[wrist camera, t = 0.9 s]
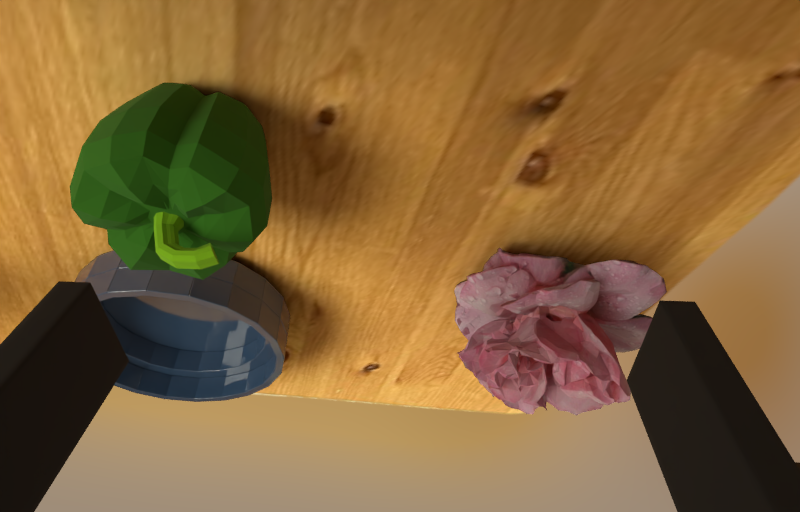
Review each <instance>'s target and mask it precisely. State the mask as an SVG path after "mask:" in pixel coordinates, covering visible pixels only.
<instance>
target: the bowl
mask: <svg viewBox="0 0 800 512" xmlns="http://www.w3.org/2000/svg"><path fill="white" fill-rule="evenodd" d="M75 282H90V283H91V285H92V287H93V289H94V291H95V293H96V295H97V297H98V299H99V301H100V303H101V305H102V307H103V309H104V311H105V313H106V315H107V317H108V319H109V321H110V323H111V325H112V327H113V329H114V331H115V333H116V335H117V337H118V339H119V341H120V344H121V346H122V348H123V350H124V352H125V354H126V356H127V358H128V360H129V362H128V364H127V365H126V367H125V369H124V370H123V372H122V373H121V375H120V376H119V378H118V380H117V381H116V383H115V384H114V385H115V386H117V387H120V388H123V389H126V390H129V391H131V392H135V393H139V394H143V395H148V396H153V397H158V398H163V399H171V400H182V401H194V402H200V401H221V400H229V399H234V398H239V397H243V396H248V395H251V394H253V393H255V392H257V391H259V390H262V389H264V388H266V387H268V386H270V385H271V384H272V382H273V381H274V380H275V379H276V378H277V377H278V376H279V375H280V374H281V373H282V368H283V363H284V358H285V351H286V344H287V336H288V329H289V322H290V314H289V311H288V308H287V306H286V303H285V300H284V298H283V296H282V295H281V294H280V293H279V292H278V291H277V290H276V289H275V288H274V287H273V286H272V285H271V284H270V283H269V281H268V280H267V279H265V278H264V277H262V276H261V275H259V274H257V273H256V272H254V271H252V270H251V269H249V268H247V267H246V266H244V265H242V264H241V263H239V262H236V261H234V260H230V261H229V262H228V263H227V264H226V265H225V266H223V267H222V268H220V269H219V270H217V271H216V272H214V273H213V274H211V275H210V276H208V277H207V278H205V279H204V280H202V279H198V278H195V277H191V276H188V275H184V274H181V273H177V272H174V271H170V270H130V269H129V268H128V266H127V265H126V264H125V263H124V262H123V260H122V259H121V258H120V257H119V256H118V254H117V253H116V252H115V251H110V252H107V253H104V254H101V255H99V256H97V257H96V258H95V259H94V260H92V261H91V262H90V263H89V264H88V265H87V266H85V267H84V268H83V269H82V270H81V271H80V272H79V274H78V276H77V278H76V280H75Z"/></svg>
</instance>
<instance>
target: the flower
mask: <svg viewBox="0 0 800 512" xmlns="http://www.w3.org/2000/svg"><path fill="white" fill-rule="evenodd" d="M467 278H468V279H467V281H465V282H460V283H459V284H458V285H457V286H456V288H455V290H454V291H455V295H456V299H457V307H456V311H455V321H456V323H457V325H458V327H459V329H460V331H461V332H462V333H463V335H464V336H465V337H466V338H467V339H468V340H469V341H468V343H467V346H466V348H465V349H464V350H462V351H460V352H458V354H459V357H460V358H461V360H462V361H463V363H464V365H465V367H466V368H467V369H469V370H470V371H472V372H473V373H474V375H475V377H476V378H478V380H479V382H480V384H482V385H483V386H484V387H485V388H486V389H487V390H488V391H489V392H490V393H491V394H492V396H493V397H494V396H496V397H497V398H498V399H500V400H502V401H503V402H504V404H505V405H506V406H509V407H511V408H514V409H519V410H521V411H523V412H525V413H526V414H533V413H534V411H535V409H536V408H538V407H539V406H542V407H544V408H545V409H546V402H548V403H550V404H551V405H553V406H554V407H555V408H556V409H558V410H561V411H568V412H570V413H573V414H575V415H578V414H580V413H582V412H586V411H591V410H596V409H601V408H602V406H603V405H604V404H605V405H610V404H612V403H614V402H618V403H620V402H626V401H629V400H630V394H631V390H630V388H629V385H628V383H627V381H626V378H625V376H624V374H623V372H622V369H621V366H620V364H619V362H618V358H617V355H616V352H627V351H632V350H636V349H640V347H641V345H642V343H643V340H644V338H645V335H646V333H647V331H648V328H649V326H650V323H651V321H652V319H653V318H652V317H649V316H646V315H642V314H639V313H641V312H642V311H644V310H646V309H647V308H649V307H650V306H652V305H653V304H654V303H656V302H657V301H658V300H659V299H660V298H661V297H662V296H663V295H664V294H665V293H666V292H667V291H666V286H665V282H664V279H663V278H662V277H661V276H660V275H659V274H658V273H657V272H655V271H653V270H652V269H650V268H649V267H647V266H646V265H642V264H639V263H636V262H634V261H628V260H609V261H604V262H597V263H593V264H589V265H581V264H577V263H574V262H570V261H569V260H568V259H567V258H562V257H552V256H542V255H535V254H525V253H520V254H518V255H517V254H512V253H508V252H505V251H504V250H502V249H501V248H499V249H498V252H497V253H496V254H494V255H493V256H491V257H490V259H489V260H488V261H487V262H486V264H485V265H484V268H483V272H478V273H473V274H471V275H469V276H467ZM638 314H639V315H638ZM546 410H547V409H546Z"/></svg>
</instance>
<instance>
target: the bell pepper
mask: <svg viewBox="0 0 800 512" xmlns="http://www.w3.org/2000/svg"><path fill="white" fill-rule="evenodd" d="M70 193H71V204H72V208H73V210H74V211H75V212H76V213H77V215H78V216H79V217H80V219H81V220H82V221H83V223H84V224H88V225H92V226H96V227H100V228H104V229H107V232H108V243H109V245H110V246H111V247H112V249H113V250H114V251H115V252H116V253H117V254H118V256H119V257H120V258H121V259H122V260H123V262H124V263H125V264H126V265H127V266H128V268H129V269H130V270H170V271H174V272H177V273H181V274H184V275H188V276H191V277H195V278H198V279H202V280H204V279H205V278H207V277H208V276H210V275H211V274H213V273H214V272H216V271H217V270H219V269H220V268H222V267H223V266H225V265H226V264H227V263H228V262H229V261H230V260H231V259H232V258H233V257H234V256H235V254H236V253H237V252H243V251H244V250H245V249H246V248H247V247H248V246H249V245H250V244H251V243H252V242H253V241H254V240H255V239H256V238H257V237H258V236H259V234H260V233H261V232H262V231H263V230H264V229H265V228H266V227H267V224H268V218H269V213H270V207H271V202H272V192H271V182H270V172H269V163H268V155H267V147H266V140H265V136H264V132H263V128H262V126H261V124H260V123H259V122H258V120H257V119H256V118H255V116H254V115H253V114H252V112H251V111H250V110H249V109H248V107H247V106H246V105H245V104H244V103H242V102H240V101H238V100H236V99H233V98H231V97H229V96H227V95H225V94H223V93H220V92H216V93H213V94H210V95H207V96H205V95H203V94H202V93H201V92H199V91H198V90H197V89H195V88H194V87H193V86H191V85H187V84H179V83H162V84H160V85H158V86H156V87H154V88H152V89H151V90H149V91H147V92H145V93H143V94H141V95H139V96H137V97H136V98H134V99H132V100H130V101H128V102H127V103H125V104H123V105H122V106H120V107H119V108H117V109H116V110H115V111H113V112H112V113H110V114H109V115H108V116H106V117H105V118H103V119H102V120H101V121H100V122H99V123H98V125H97V126H96V127H95V129H94V130H93V132H92V133H91V135H90V136H89V137H88V139H87V140H86V142H85V143H84V145H83V146H82V149H81V153H80V156H79V159H78V162H77V165H76V169H75V172H74V175H73V178H72V181H71V185H70Z"/></svg>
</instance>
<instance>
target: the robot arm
mask: <svg viewBox="0 0 800 512" xmlns="http://www.w3.org/2000/svg"><path fill="white" fill-rule="evenodd" d="M128 362H129V360H128V358H127V356H126V354H125V352H124V350H123V348H122V346H121V344H120V341H119V339H118V337H117V335H116V333H115V331H114V329H113V327H112V325H111V323H110V321H109V319H108V317H107V315H106V313H105V311H104V309H103V307H102V305H101V303H100V301H99V299H98V297H97V295H96V293H95V291H94V289H93V287H92V285H91V283H90V282H58V283H57V284H56V285H55V286H54V287H53V288H52V290H51V291H50V292H49V293H48V294H47V295H46V296H45V297H44V298H43V299H42V300H41V301H40V302H39V303H38V305H37V306H36V307H35V308H34V309H33V310H32V311H31V312H30V313H29V314H28V315H27V316H26V317H25V319H24V320H23V321H22V322H21V323H20V324H19V325H18V326H17V327H16V328H15V329H14V330H13V331H12V332H11V334H10V335H9V336H8V337H7V338H6V339H5V340H4V341H3V342H2V343H1V344H0V512H34V511H35V509H36V508H37V506H38V505H39V503H40V502H41V500H42V498H43V497H44V495H45V494H46V492H47V490H48V489H49V487H50V486H51V484H52V483H53V481H54V479H55V478H56V476H57V475H58V473H59V472H60V470H61V468H62V467H63V465H64V464H65V462H66V460H67V459H68V457H69V456H70V454H71V452H72V451H73V449H74V448H75V446H76V445H77V443H78V441H79V440H80V438H81V437H82V435H83V434H84V432H85V430H86V429H87V427H88V425H89V424H90V422H91V421H92V419H93V418H94V416H95V415H96V413H97V411H98V410H99V408H100V406H101V405H102V403H103V402H104V400H105V399H106V397H107V395H108V394H109V392H110V391H111V389H112V387H113V386H114V384H115V383H116V381H117V380H118V378H119V376H120V375H121V373H122V372H123V370H124V369H125V367H126V365H127V364H128ZM627 383H628V385H629V388H630V390H631V393H632V396H633V398H634V401H635V403H636V406H637V408H638V411H639V413H640V416H641V419H642V421H643V424H644V426H645V429H646V432H647V434H648V437H649V439H650V442H651V445H652V447H653V450H654V452H655V455H656V457H657V460H658V463H659V465H660V468H661V470H662V473H663V475H664V478H665V481H666V483H667V486H668V488H669V491H670V493H671V496H672V499H673V501H674V504H675V506H676V509H677V511H678V512H800V463H795V462H794V460H793V459H792V457H791V455H790V454H789V452H788V451H787V449H786V447H785V446H784V444H783V443H782V441H781V439H780V438H779V436H778V435H777V433H776V431H775V430H774V428H773V427H772V425H771V423H770V422H769V420H768V418H767V417H766V415H765V414H764V412H763V410H762V409H761V407H760V406H759V404H758V402H757V401H756V399H755V397H754V396H753V394H752V393H751V391H750V389H749V388H748V386H747V385H746V383H745V382H744V380H743V378H742V377H741V375H740V373H739V372H738V370H737V369H736V367H735V365H734V364H733V362H732V361H731V359H730V357H729V356H728V354H727V352H726V351H725V349H724V348H723V346H722V344H721V343H720V341H719V340H718V338H717V337H716V335H715V333H714V332H713V330H712V328H711V327H710V325H709V324H708V322H707V320H706V319H705V317H704V315H703V314H702V312H701V311H700V309H699V307H698V306H697V304H696V303H695V302H683V301H660V302H659V304H658V307H657V309H656V311H655V314H654V316H653V319H652V321H651V323H650V326H649V328H648V331H647V333H646V335H645V338H644V340H643V343H642V345H641V347H640V350H639V352H638V355H637V357H636V359H635V362H634V364H633V367H632V369H631V371H630V374H629V376H628V379H627Z"/></svg>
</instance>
